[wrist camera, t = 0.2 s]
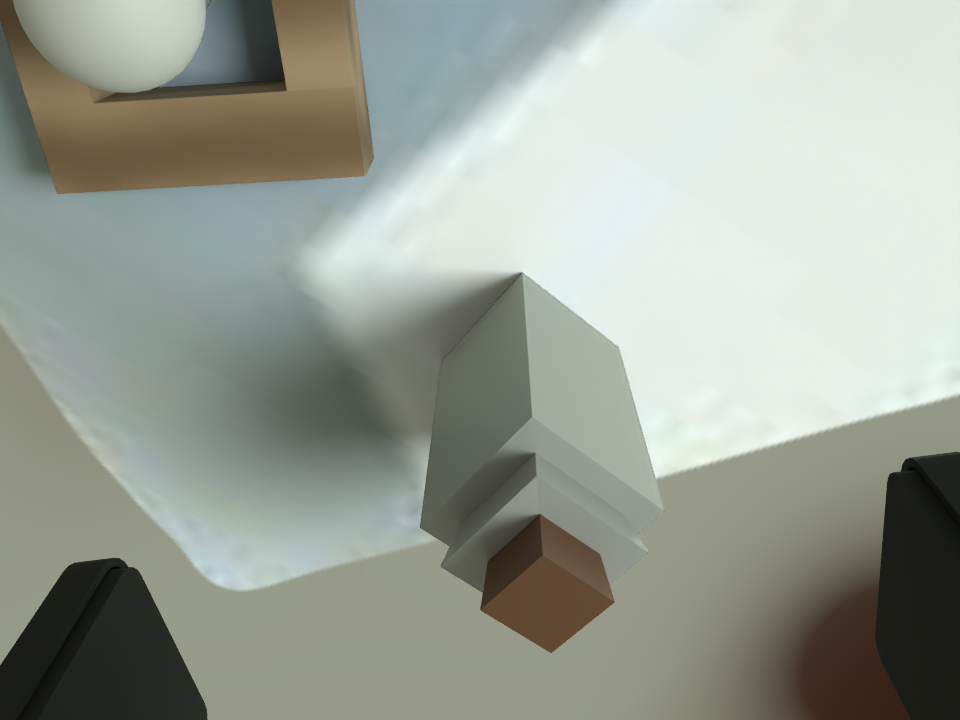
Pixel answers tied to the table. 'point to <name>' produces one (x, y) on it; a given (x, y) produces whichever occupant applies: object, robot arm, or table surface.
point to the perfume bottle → (538, 466)
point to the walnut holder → (209, 115)
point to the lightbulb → (115, 39)
